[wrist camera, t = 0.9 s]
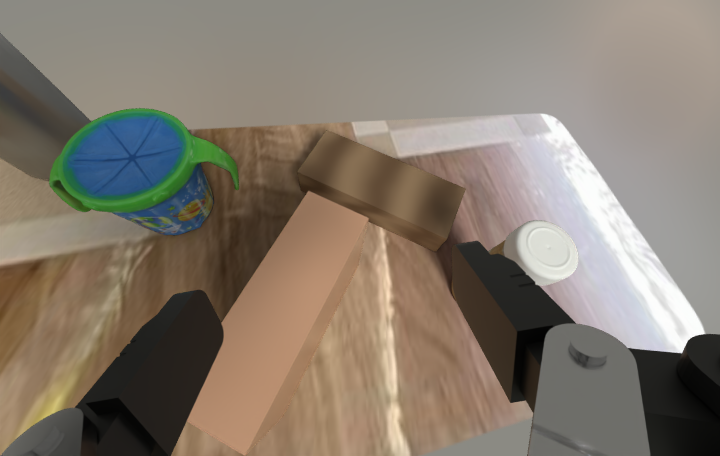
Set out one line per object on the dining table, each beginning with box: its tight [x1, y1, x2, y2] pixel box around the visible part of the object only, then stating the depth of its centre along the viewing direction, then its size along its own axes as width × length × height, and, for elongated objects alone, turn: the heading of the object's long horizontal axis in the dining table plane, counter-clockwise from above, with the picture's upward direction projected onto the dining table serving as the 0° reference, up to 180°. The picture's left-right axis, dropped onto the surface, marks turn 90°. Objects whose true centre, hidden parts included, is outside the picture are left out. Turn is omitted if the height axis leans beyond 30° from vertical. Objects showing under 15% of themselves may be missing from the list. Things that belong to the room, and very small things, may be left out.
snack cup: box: [49, 108, 239, 235], centre depth 30 cm, size 16×10×10 cm
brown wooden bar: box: [297, 130, 466, 252], centre depth 35 cm, size 18×7×4 cm, turn 65°
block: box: [187, 191, 369, 456], centre depth 25 cm, size 5×16×12 cm, turn 155°
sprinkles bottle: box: [451, 220, 578, 300], centre depth 26 cm, size 5×5×13 cm
